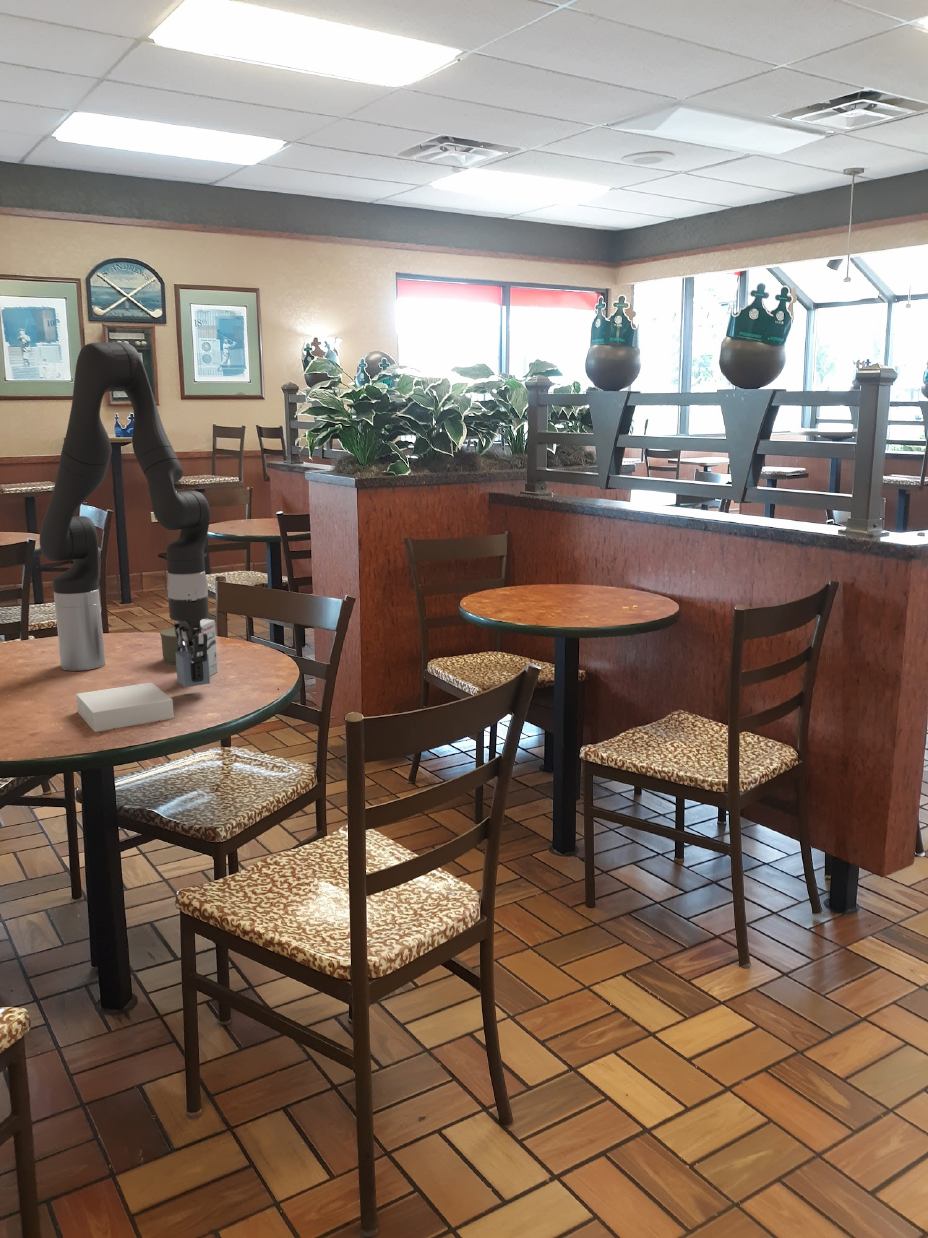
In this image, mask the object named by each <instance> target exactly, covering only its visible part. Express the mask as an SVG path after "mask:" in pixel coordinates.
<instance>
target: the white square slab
mask: <svg viewBox="0 0 928 1238" xmlns="http://www.w3.org/2000/svg"><path fill="white" fill-rule="evenodd" d="M75 696H76V704H77V705H76V706H77V713H78V714H79V715H80V717H81V718H82V719H83V720H84V721H85V722H86V724H87V725H88V726H89V727H90V728H91V729H92V730H93V732H94V733H96V732H97V733H98V732H102V731H109V730H113V728H115V729H119V728H125V727H130V726H131V727H132V726H137V725H143V724H148V723H153V722H159V720H160V721H165V720H170V719H172V720H173V719H174V717H175V716H174V715H175V714H174V701H173V699H172V698H171V697H170V696H169V695H168V694H166V693H165V692H163V691H162V690H161V689H160V688H159V687H158V686H156V685H155V684H154V683H153V682H146V683H139V684H132V685H125V686H119V687H113V688H112V687H111V688H106V689H98V690H92V691H87V692H85V691H84V692H79V693H76V695H75Z"/></svg>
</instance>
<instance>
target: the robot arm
mask: <svg viewBox="0 0 928 1238" xmlns="http://www.w3.org/2000/svg"><path fill="white" fill-rule="evenodd" d="M74 371H75V372H74V380H73V381H74V382H73V390H72V392H73V393H72V400H71V401H72V402H71V407H70V408H71V409H70V413H69V419H68V423H67V429H66V433H65V437H64V440H63V444H62V448H61V453H60V457H59V461H58V462H59V464H58V469H57V474H56V479H55V483H54V486H53V491H52V494H51V497H50V500H49V502H48V506H47V509H46V512H45V514H44V517H43V520H42V522H41V527H40V531H39V547H40V548H39V549H40V550H41V553H42V555H43V557H44V558H45V559H47V560H49V561H51V562H52V561H53V562H63V561H65V562H67V561H72V560H73V563H72V565H71V566H70V568H69V569H67V570H66V571H65V572H63V573H61V574H59V575H58V576H55V577H54V578H53V581H52V589H53V598H54V608H55V609H54V610H55V617H56V618H55V619H56V626H57V627H56V628H57V637H58V648H59V659H60V668H61V669H62V670H64V671H69V672H70V671H72V672H73V671H74V672H77V671H88V670H93V669H98V668H101V667H104V666H105V664H106V657H105V643H104V634H103V621H102V612H101V610H102V608H101V602H100V601H101V598H100V590H99V579H100V560H99V558H100V557H99V556H100V555H99V554H100V553H99V552H100V551H99V536H98V531H97V528H96V526H95V522H94V521H93V520H92V519H91V518H90V517H89V516H85V515H84V516H83V515H77V516H76V515H75V513H76V512H77V510H78V509H79V508H80V506H81V505H83V503H84V502H85V501H86V500H87V499H89V497H91V495H92V494H93V493H94V492H95V491H96V490H97V489H98V488H99V487H100V485H102V483H103V481H104V479H105V478H106V475H107V473H108V470H109V464H110V460H111V456H112V451H113V448H112V443H111V440H110V437H109V434H108V432H107V431H106V428H105V426H104V424H103V422H102V419H101V406H102V401H103V398H104V396H105V393H108V392H109V393H110V392H122V391H123V392H124V393H125V395H126V396H127V398H128V400H129V401H130V403H131V407H132V410H133V424H132V425H133V427H132V434H131V435H132V436H131V440H132V441H131V444H132V450H133V453H134V456H135V458H136V460H137V462H138V464H139V466H140V468H141V470H142V472H143V475H144V476H145V478H146V480H147V485H148V493H149V497H150V502H151V508H152V512H153V515H154V518H155V519H156V521H157V522H158V523H159V524H160V525H161V526H162V528H164V529H166V530H169V531H178V530H180V532H179V536H178V537H177V539H175V540H173V541H172V542H170V543H169V544H168V545H167V546H166V564H167V566H166V568H167V581H166V583H167V599H168V614H169V618H170V620H171V621H175V622H174V623H173V627H175V634H176V642H177V650H178V652H184V651H186V652H187V653H189V657H190V663H191V678H192V681H193V682H200V681H203V679H204V677H203V663H202V662H205V661H207V634H206V633H203V628H202V627H201V624H200V621H201V620H202V619H208V617H209V616H210V609H209V589H208V581H207V575H206V567H205V565H206V564H205V547H206V541H207V537H208V531H209V528H210V522H211V508H210V504H209V502H208V499H207V498H206V496H204V495H203V493H201V492H199V491H197V490H188V491H178V492H177V491H176V488H175V484H177V483H178V482H179V481H181V480H182V478H183V477H184V470H183V466H182V465H181V462H180V460H179V458H178V456H177V454H176V451H175V450H174V448H173V446H172V444H171V442H170V440H169V437H168V435H167V433H166V431H165V428H164V426H163V422H162V419H161V417H160V416H161V415H160V413H159V410H158V409H159V408H158V406H157V404H156V399H155V395H154V393H153V390H152V387H151V384H150V380H149V376H148V373H147V371H146V367H145V365H144V362H143V360H142V358H141V355H140V354H139V352H138V350H137V349H136V348H135V346H133V345H132V344H130V343H127V342H123V341H110V342H109V341H107V342H106V341H105V342H91V343H87V344H85V345H83V346H82V348H81V349H80V350H79V353H78V356H77V360H76V364H75V370H74ZM74 515H75V516H74ZM183 641H184V642H183ZM198 652H199V656H197V653H198Z"/></svg>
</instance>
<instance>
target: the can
mask: <svg viewBox="0 0 928 1238" xmlns="http://www.w3.org/2000/svg"><path fill="white" fill-rule="evenodd" d="M159 633H160V634H159V635H160V640H161V649H162V661H163V663H164V664H165V665H167V666H174V667H175V666H176V653H175V652H178V650H177V642H176V634H175V627H174V626H171V627H167V628H165V629H162V630H161V631H160V632H159Z"/></svg>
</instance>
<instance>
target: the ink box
mask: <svg viewBox="0 0 928 1238" xmlns="http://www.w3.org/2000/svg"><path fill="white" fill-rule="evenodd" d="M200 624H201V627H202V628H203V633H206V634H207V654H208V660H209V676H210V677H211V676H213V675H214V674H216V673H218V657H217V656H218V655H217V654H218V653H217V641H216V640H217V637H216V636H217V635H216V621H215V619H208V618H205V619H202V620H201V621H200ZM183 642H184V641H183Z"/></svg>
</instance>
